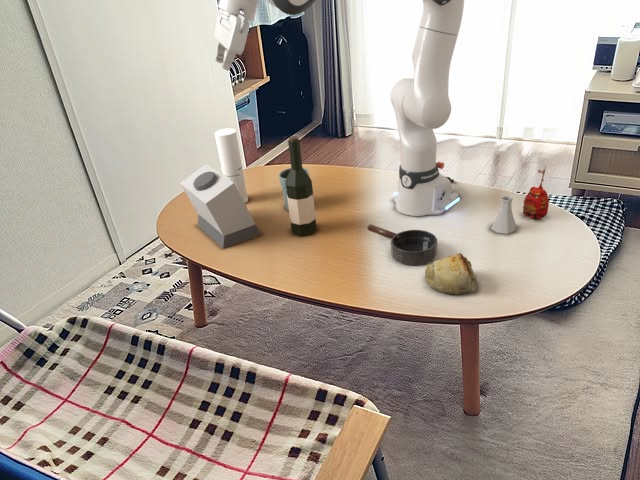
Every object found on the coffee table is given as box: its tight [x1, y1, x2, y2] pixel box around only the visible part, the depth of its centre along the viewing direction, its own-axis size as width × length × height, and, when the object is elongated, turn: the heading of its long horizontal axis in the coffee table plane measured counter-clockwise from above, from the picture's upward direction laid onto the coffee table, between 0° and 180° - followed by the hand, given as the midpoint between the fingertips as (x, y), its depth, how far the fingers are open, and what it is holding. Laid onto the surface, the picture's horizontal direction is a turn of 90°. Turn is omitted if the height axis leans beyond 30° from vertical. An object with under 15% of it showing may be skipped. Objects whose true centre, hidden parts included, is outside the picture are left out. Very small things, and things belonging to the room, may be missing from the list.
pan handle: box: [366, 223, 400, 241], centre depth 167 cm, size 12×2×2 cm, turn 44°
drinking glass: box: [278, 167, 310, 211], centre depth 191 cm, size 10×10×12 cm
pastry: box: [424, 252, 478, 296], centre depth 146 cm, size 14×12×8 cm
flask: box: [490, 195, 517, 235], centre depth 166 cm, size 7×7×10 cm
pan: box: [390, 229, 438, 266], centre depth 160 cm, size 13×13×4 cm
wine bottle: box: [285, 135, 318, 238], centre depth 171 cm, size 8×8×30 cm
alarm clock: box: [179, 163, 262, 249], centre depth 178 cm, size 20×16×20 cm
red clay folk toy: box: [522, 165, 550, 221], centre depth 170 cm, size 8×7×15 cm
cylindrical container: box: [214, 127, 249, 204], centre depth 194 cm, size 7×7×25 cm
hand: (221, 65), depth 142 cm, fingers open, 8 cm apart
